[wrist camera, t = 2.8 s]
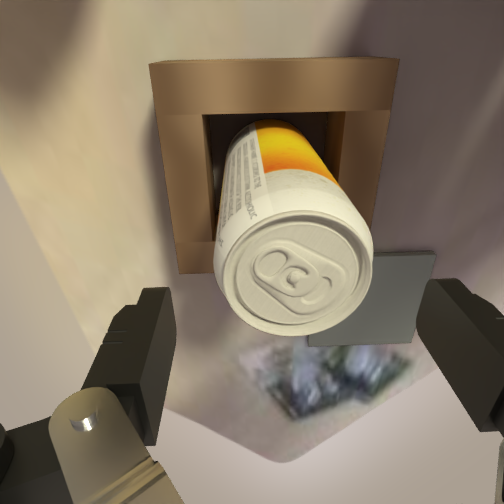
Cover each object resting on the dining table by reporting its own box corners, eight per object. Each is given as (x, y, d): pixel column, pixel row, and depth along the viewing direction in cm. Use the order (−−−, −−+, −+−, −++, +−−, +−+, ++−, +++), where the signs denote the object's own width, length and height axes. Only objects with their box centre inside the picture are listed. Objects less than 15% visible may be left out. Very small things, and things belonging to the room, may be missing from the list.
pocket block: (371, 56, 22) (399, 58, 18) (346, 238, 29) (363, 268, 25) (164, 60, 22) (148, 63, 18) (187, 242, 29) (179, 273, 25)
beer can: (274, 215, 28) (305, 365, 15) (209, 169, 26) (178, 297, 13) (327, 152, 25) (420, 265, 12) (260, 97, 23) (286, 162, 10)
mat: (433, 251, 30) (436, 254, 29) (408, 338, 35) (411, 343, 34) (315, 254, 29) (316, 258, 29) (307, 342, 35) (308, 346, 34)
